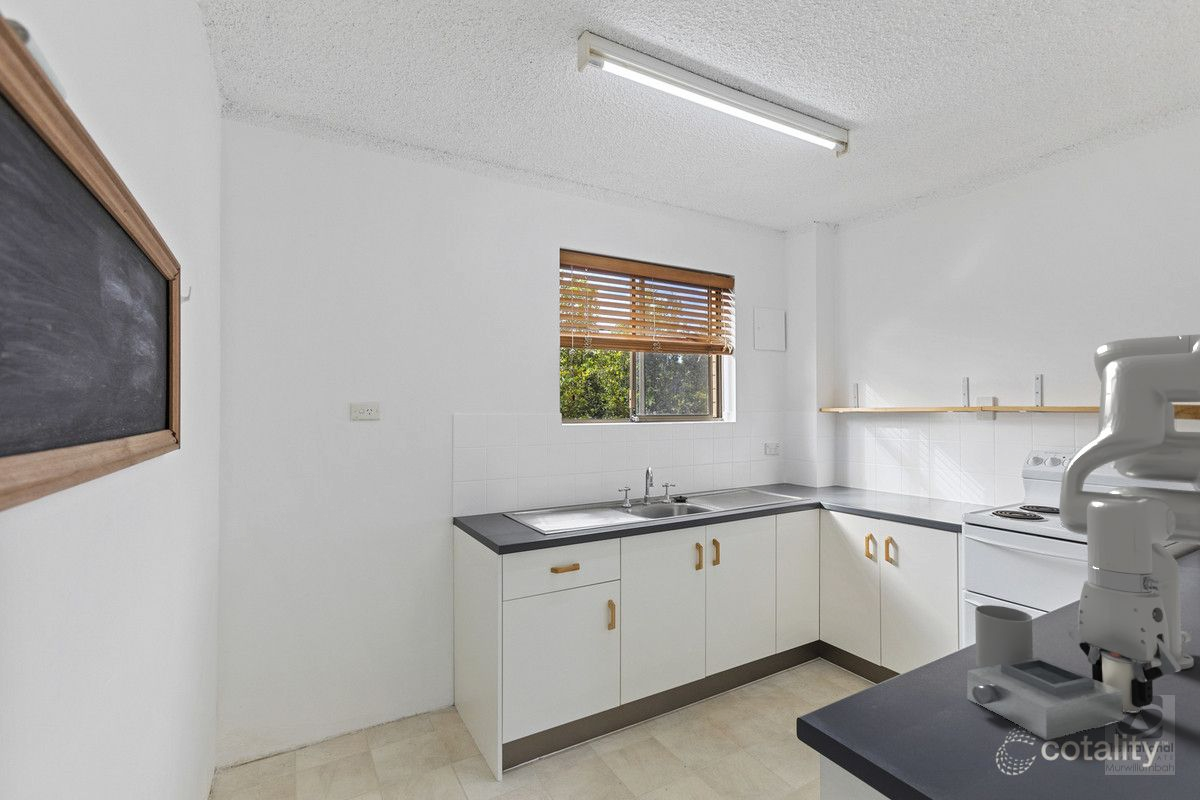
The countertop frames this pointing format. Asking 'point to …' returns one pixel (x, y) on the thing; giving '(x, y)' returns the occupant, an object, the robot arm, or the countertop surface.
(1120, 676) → the cream white cylinder
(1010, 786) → the countertop surface
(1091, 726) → the grey holder block
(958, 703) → the countertop surface
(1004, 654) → the cup
